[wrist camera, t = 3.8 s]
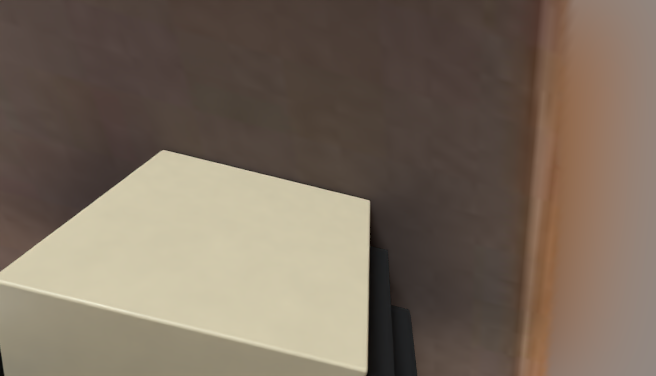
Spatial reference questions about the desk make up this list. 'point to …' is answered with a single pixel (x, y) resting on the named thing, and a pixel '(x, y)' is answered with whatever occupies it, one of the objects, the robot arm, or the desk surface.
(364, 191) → the desk surface
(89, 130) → the desk surface
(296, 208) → the cream cube
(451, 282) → the desk surface
